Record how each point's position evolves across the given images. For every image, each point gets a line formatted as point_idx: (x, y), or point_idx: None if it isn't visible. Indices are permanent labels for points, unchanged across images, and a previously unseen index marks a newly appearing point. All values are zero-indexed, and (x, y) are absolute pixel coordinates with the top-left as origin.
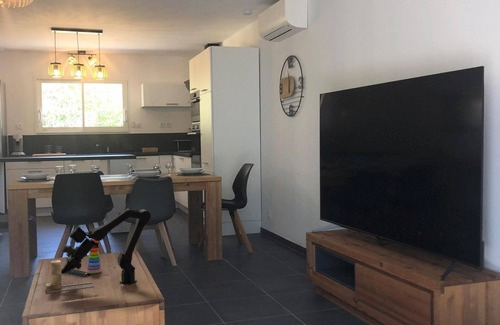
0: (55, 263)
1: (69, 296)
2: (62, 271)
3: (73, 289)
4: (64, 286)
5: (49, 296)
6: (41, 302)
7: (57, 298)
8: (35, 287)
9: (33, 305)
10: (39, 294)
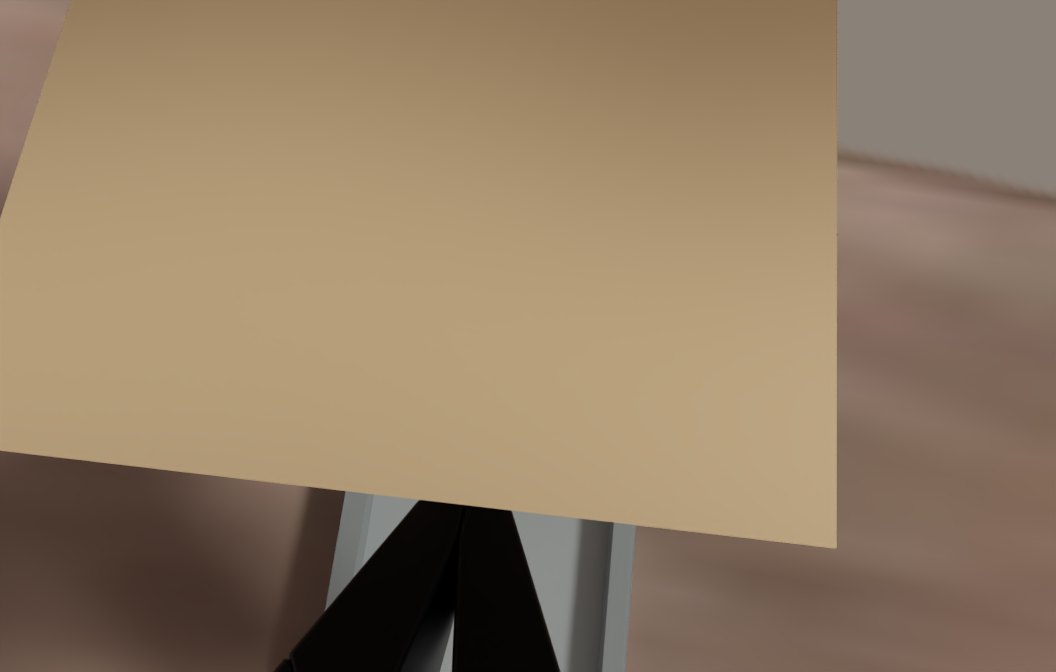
0: (110, 62)
1: (92, 514)
2: (409, 522)
3: None
4: (609, 542)
5: None
6: None
7: None
8: (891, 160)
9: (24, 19)
10: None
